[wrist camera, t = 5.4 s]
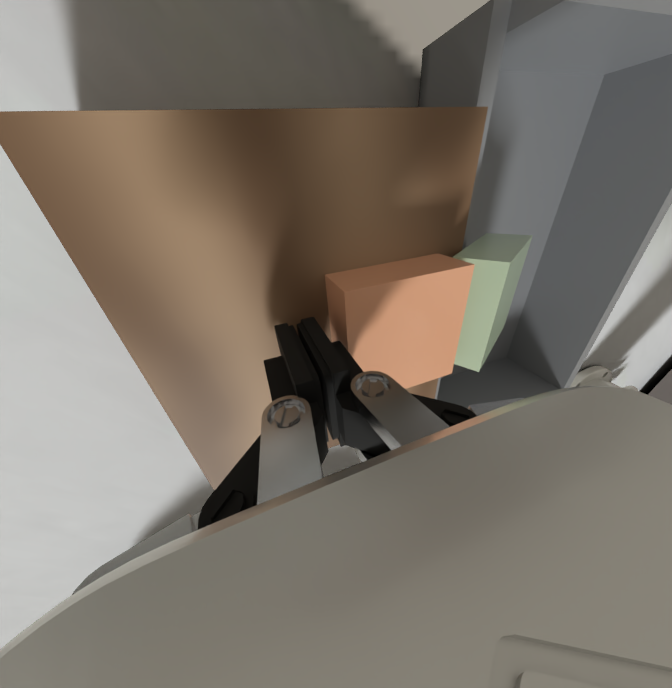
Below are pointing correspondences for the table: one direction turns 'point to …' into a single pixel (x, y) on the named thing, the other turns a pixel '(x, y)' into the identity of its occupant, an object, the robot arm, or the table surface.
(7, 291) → the table surface
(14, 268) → the table surface
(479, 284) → the tile
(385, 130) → the platform
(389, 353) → the tile
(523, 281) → the box
